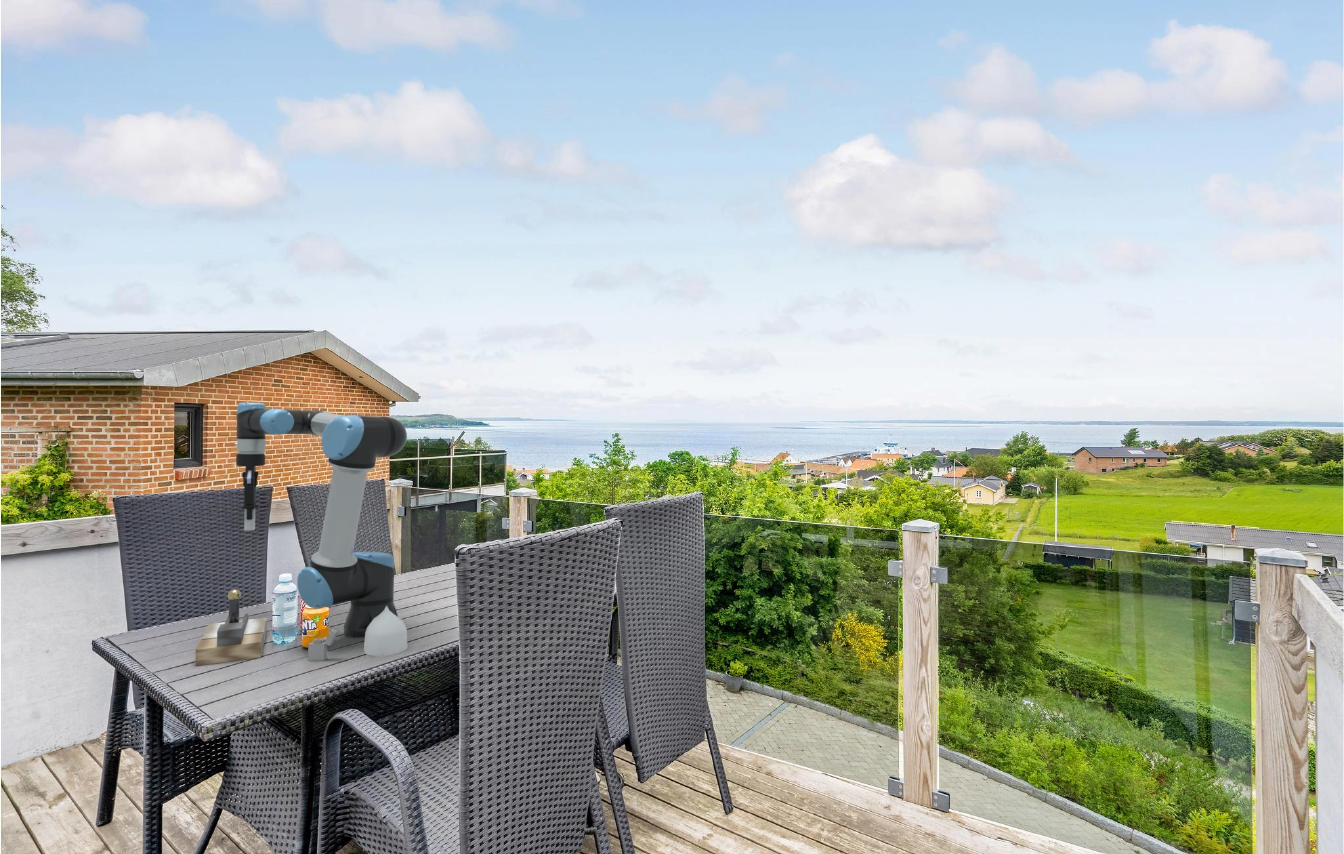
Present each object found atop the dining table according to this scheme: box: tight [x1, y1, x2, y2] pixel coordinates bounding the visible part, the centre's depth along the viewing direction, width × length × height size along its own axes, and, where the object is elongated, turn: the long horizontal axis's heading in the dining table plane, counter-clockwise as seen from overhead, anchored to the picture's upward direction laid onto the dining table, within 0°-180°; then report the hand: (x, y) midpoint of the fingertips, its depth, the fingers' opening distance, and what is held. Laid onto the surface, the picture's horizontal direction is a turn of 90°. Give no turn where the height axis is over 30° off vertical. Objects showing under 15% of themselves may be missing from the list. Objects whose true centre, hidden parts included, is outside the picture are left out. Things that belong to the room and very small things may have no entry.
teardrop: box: [363, 606, 408, 657], centre depth 180 cm, size 11×11×12 cm
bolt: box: [227, 589, 242, 623], centre depth 175 cm, size 3×12×12 cm, turn 29°
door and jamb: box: [194, 613, 268, 666], centre depth 180 cm, size 14×25×8 cm, turn 29°
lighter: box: [307, 627, 340, 662], centre depth 171 cm, size 7×2×8 cm, turn 92°
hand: (249, 529), depth 202 cm, fingers closed
